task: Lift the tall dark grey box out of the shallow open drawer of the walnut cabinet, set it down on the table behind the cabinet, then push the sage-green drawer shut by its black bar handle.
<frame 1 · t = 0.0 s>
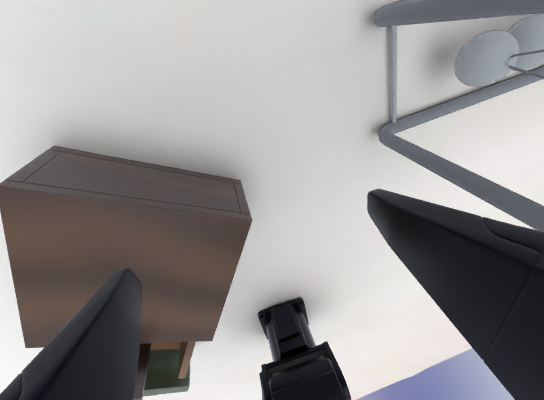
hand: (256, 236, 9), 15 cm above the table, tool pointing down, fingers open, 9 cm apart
newton's cradle: (515, 30, 23), on the table
cabinet: (149, 233, 25), on the table
drawer: (132, 351, 28), point 3 cm above the table, slide at 10.0 cm, touching tall dark grey box
tall dark grey box: (135, 331, 29), point 2 cm above the table, touching drawer
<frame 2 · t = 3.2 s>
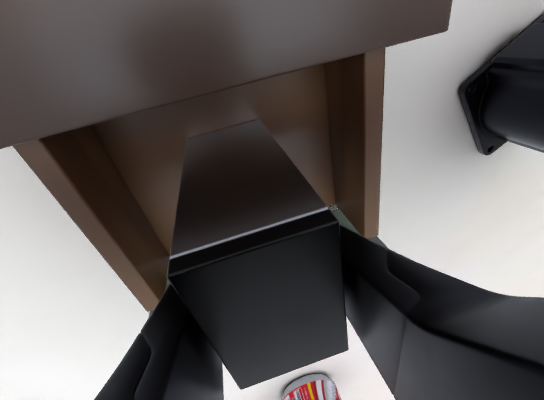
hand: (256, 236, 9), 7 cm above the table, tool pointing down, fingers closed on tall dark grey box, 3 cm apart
soda can: (305, 384, 33), on the table
drawer: (250, 214, 13), point 3 cm above the table, slide at 10.0 cm, touching tall dark grey box
tall dark grey box: (238, 177, 14), point 2 cm above the table, touching drawer, gripper
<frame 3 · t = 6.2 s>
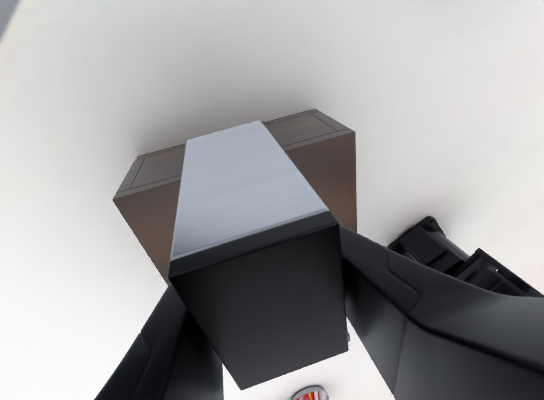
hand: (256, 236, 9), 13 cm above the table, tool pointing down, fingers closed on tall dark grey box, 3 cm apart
cabinet: (250, 205, 24), on the table
soda can: (307, 393, 49), on the table
drawer: (284, 319, 29), point 3 cm above the table, slide at 10.0 cm
tall dark grey box: (238, 178, 14), point 8 cm above the table, touching gripper
when the fingers open (5 cm above the table, at t = 9.4 s): tall dark grey box stays where it is, on the table.
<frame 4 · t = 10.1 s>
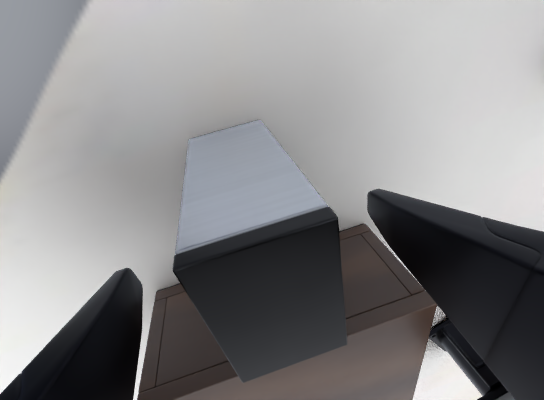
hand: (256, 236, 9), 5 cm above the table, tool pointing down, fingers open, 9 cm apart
cabinet: (283, 317, 21), on the table
tall dark grey box: (239, 177, 14), on the table
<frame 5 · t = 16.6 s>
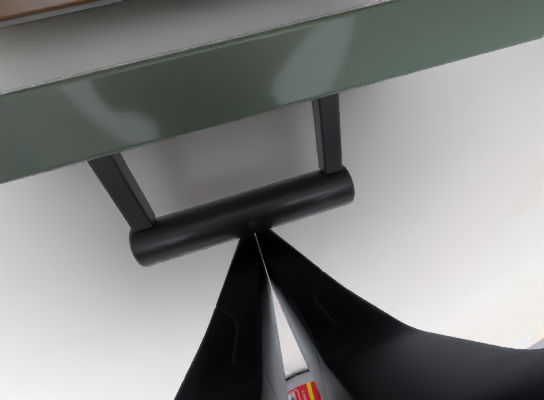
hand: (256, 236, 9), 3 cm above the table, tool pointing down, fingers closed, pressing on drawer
soda can: (303, 384, 24), on the table
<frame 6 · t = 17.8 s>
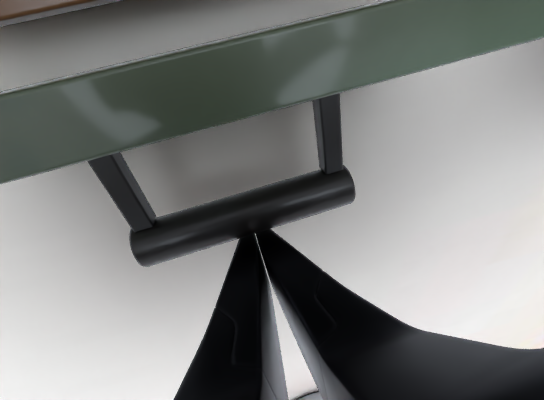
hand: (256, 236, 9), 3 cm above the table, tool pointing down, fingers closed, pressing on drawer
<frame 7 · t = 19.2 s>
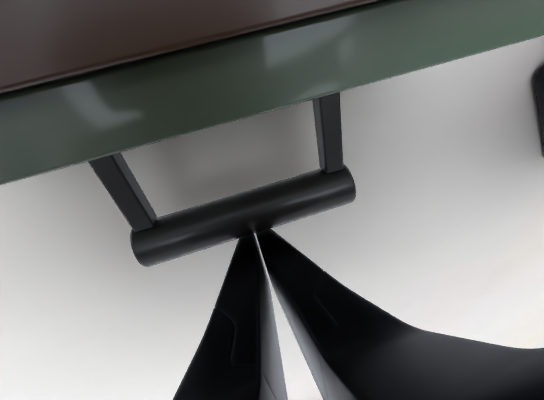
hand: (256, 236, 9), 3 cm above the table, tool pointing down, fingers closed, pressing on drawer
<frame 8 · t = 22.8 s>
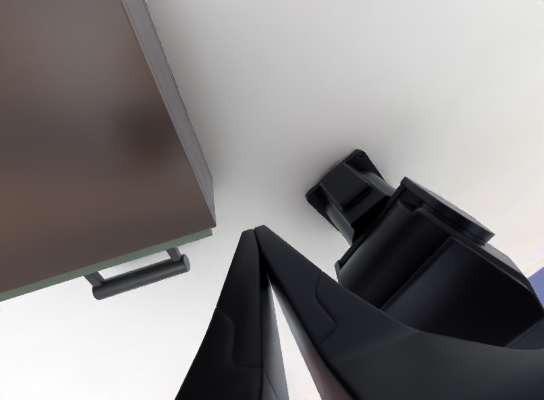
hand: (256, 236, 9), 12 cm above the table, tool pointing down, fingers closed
cabinet: (61, 112, 16), on the table
drawer: (78, 188, 16), point 3 cm above the table, slide at 0.0 cm
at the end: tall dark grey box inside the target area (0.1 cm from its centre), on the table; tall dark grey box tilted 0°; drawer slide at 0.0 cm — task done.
